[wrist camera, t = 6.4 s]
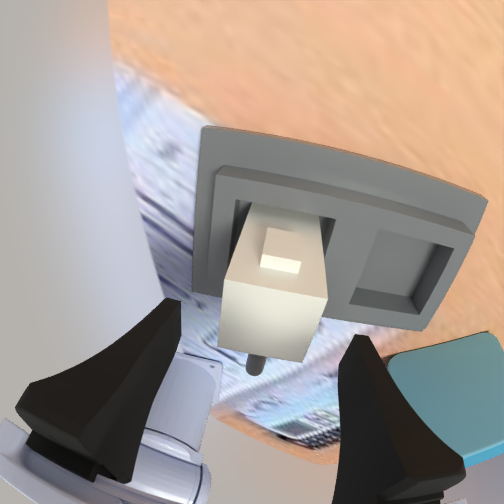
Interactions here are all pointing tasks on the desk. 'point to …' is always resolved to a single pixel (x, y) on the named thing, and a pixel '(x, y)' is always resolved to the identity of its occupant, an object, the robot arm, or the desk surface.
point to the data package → (457, 393)
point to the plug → (274, 287)
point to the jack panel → (338, 222)
